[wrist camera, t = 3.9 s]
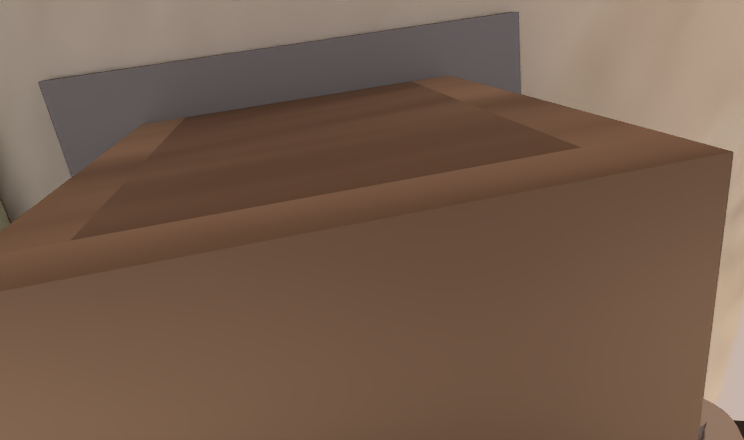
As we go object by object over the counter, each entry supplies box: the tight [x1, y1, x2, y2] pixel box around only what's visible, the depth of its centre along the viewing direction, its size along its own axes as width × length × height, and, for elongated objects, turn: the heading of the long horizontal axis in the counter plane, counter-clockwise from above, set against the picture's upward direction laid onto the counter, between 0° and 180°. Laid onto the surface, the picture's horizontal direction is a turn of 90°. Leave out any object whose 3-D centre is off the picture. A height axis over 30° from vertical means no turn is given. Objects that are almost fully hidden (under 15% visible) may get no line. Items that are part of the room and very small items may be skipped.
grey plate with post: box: [38, 12, 521, 177], centre depth 10 cm, size 12×9×4 cm
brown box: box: [0, 75, 733, 440], centre depth 9 cm, size 10×6×7 cm, turn 8°
